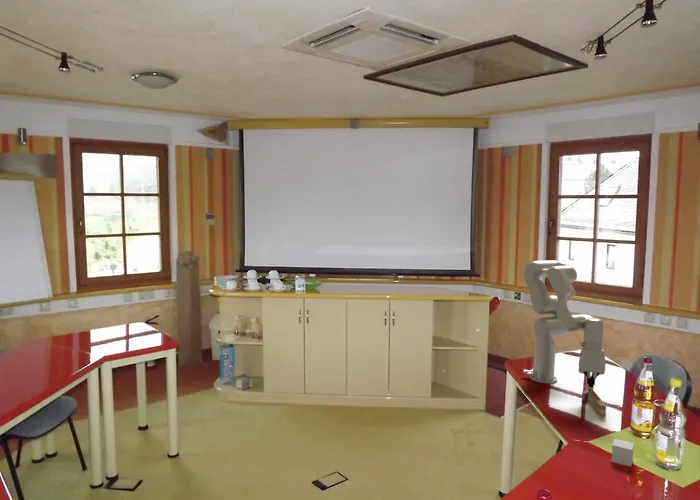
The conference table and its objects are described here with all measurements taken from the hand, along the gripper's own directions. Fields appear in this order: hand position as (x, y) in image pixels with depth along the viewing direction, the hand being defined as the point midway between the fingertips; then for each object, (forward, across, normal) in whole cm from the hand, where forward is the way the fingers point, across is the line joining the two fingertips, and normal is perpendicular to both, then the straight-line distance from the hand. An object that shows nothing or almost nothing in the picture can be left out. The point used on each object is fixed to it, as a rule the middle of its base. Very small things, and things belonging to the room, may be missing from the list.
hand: (590, 386), depth 227 cm
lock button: (+2, 0, 0) cm, 2 cm away
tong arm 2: (+7, 0, -10) cm, 12 cm away
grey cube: (+8, -5, -54) cm, 55 cm away
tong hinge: (+7, 0, 0) cm, 7 cm away
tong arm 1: (+7, -1, -10) cm, 12 cm away
